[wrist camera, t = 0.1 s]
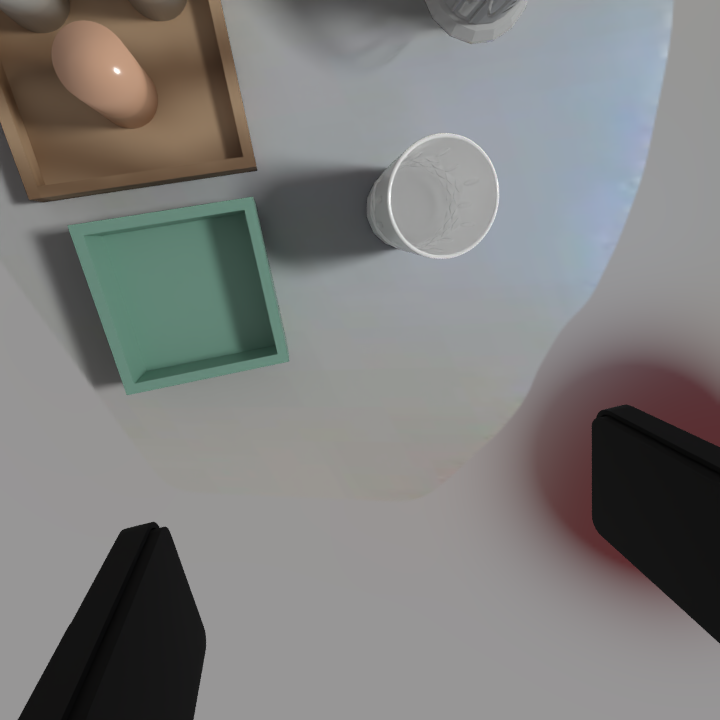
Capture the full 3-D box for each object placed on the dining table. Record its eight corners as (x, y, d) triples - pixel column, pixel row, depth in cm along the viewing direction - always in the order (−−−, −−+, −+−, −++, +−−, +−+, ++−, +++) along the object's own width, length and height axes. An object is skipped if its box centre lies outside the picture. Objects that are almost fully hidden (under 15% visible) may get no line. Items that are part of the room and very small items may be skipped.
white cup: (368, 262, 39) (398, 270, 29) (350, 170, 36) (376, 145, 27) (450, 244, 40) (505, 245, 30) (438, 152, 37) (493, 122, 28)
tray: (-52, -62, 28) (-76, -84, 26) (203, -80, 30) (198, -101, 28) (43, 202, 33) (29, 199, 31) (257, 170, 35) (256, 166, 33)
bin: (90, 227, 34) (67, 225, 30) (255, 201, 35) (252, 196, 32) (142, 379, 38) (126, 395, 34) (288, 349, 39) (289, 361, 36)
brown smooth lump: (84, 64, 30) (39, 24, 25) (147, 57, 31) (118, 16, 25) (104, 132, 32) (67, 108, 26) (165, 124, 32) (141, 99, 27)
